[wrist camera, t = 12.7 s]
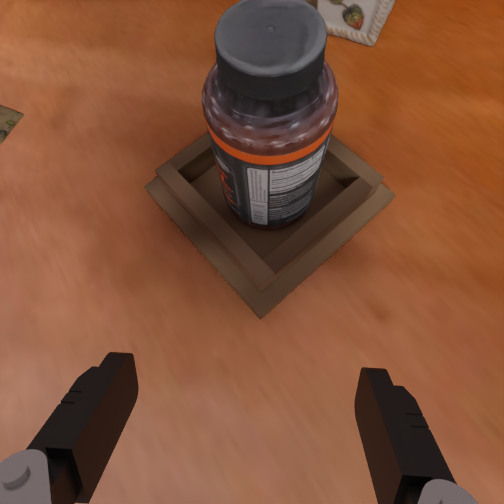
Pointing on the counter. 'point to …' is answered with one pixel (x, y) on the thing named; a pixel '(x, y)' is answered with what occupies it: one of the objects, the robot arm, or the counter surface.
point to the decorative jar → (354, 18)
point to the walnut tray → (268, 241)
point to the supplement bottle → (270, 109)
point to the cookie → (8, 121)
